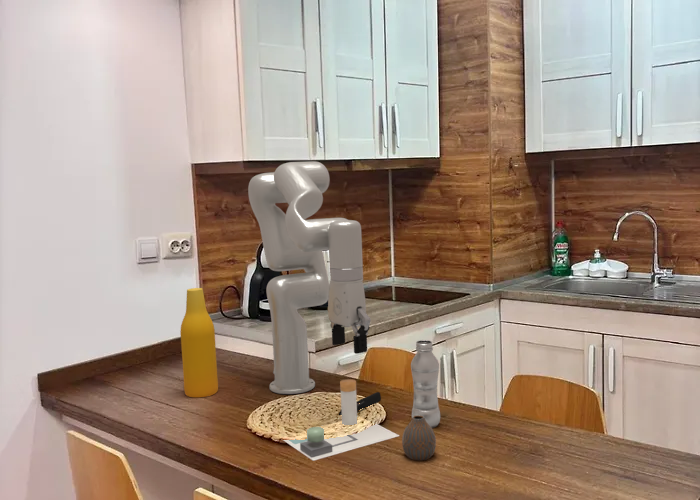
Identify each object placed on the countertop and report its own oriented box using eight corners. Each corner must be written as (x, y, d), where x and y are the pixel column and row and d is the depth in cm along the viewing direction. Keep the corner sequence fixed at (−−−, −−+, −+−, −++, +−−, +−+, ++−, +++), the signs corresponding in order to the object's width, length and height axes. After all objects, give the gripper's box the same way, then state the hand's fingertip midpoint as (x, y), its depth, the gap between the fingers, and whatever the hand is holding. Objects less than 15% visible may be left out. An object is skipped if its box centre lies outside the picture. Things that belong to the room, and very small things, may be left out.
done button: (304, 438, 150) (303, 429, 150) (319, 434, 152) (318, 425, 152) (312, 443, 147) (312, 434, 147) (327, 439, 149) (326, 430, 149)
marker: (338, 423, 165) (337, 381, 164) (352, 420, 167) (350, 378, 166) (347, 428, 162) (345, 385, 161) (360, 424, 164) (359, 382, 163)
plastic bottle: (423, 419, 168) (421, 337, 165) (446, 426, 163) (444, 341, 160) (406, 427, 163) (403, 342, 161) (428, 434, 158) (426, 347, 156)
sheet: (278, 439, 159) (278, 436, 159) (360, 418, 170) (360, 415, 170) (313, 463, 145) (313, 460, 145) (399, 438, 157) (399, 435, 156)
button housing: (300, 449, 151) (300, 443, 151) (320, 444, 153) (320, 437, 153) (311, 457, 147) (311, 450, 146) (332, 451, 149) (332, 444, 149)
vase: (402, 451, 149) (400, 411, 148) (434, 451, 149) (433, 410, 148) (403, 465, 142) (402, 423, 141) (437, 464, 142) (436, 422, 141)
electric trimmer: (385, 404, 181) (384, 392, 181) (349, 421, 169) (348, 409, 169) (373, 401, 183) (373, 390, 183) (337, 418, 171) (336, 406, 171)
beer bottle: (216, 385, 201) (209, 285, 197) (220, 395, 192) (214, 290, 188) (182, 390, 198) (175, 288, 194) (186, 400, 189) (178, 293, 186)
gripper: (313, 272, 166) (317, 343, 168) (352, 281, 151) (355, 359, 153) (341, 269, 169) (344, 338, 171) (381, 277, 155) (384, 353, 157)
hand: (349, 348), depth 162 cm, fingers open, 9 cm apart
